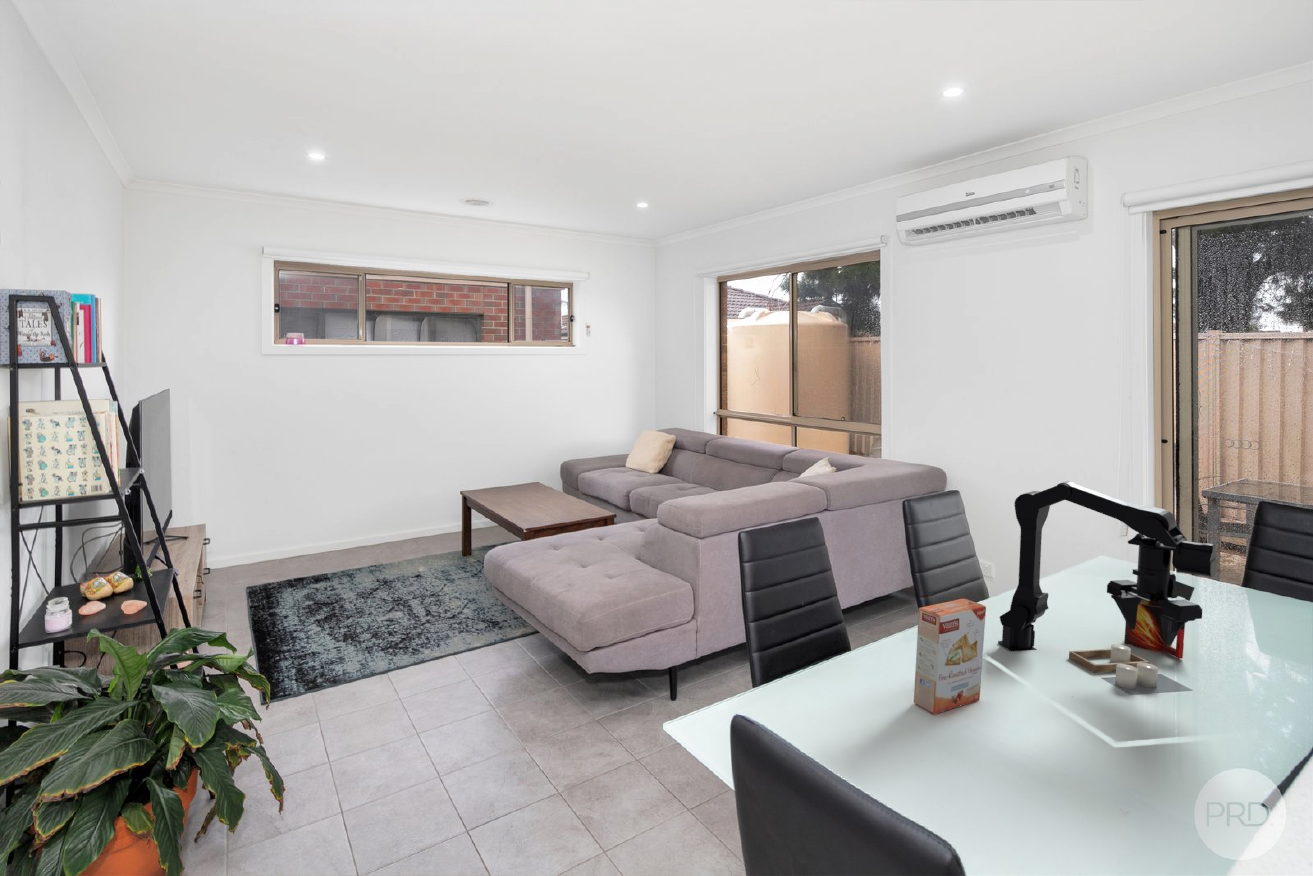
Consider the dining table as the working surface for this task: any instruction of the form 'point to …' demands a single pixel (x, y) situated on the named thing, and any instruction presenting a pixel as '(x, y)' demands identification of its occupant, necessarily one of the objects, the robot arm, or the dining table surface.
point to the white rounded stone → (1126, 676)
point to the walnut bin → (1099, 668)
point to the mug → (1152, 631)
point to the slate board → (1162, 686)
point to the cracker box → (949, 654)
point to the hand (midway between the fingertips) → (1149, 637)
